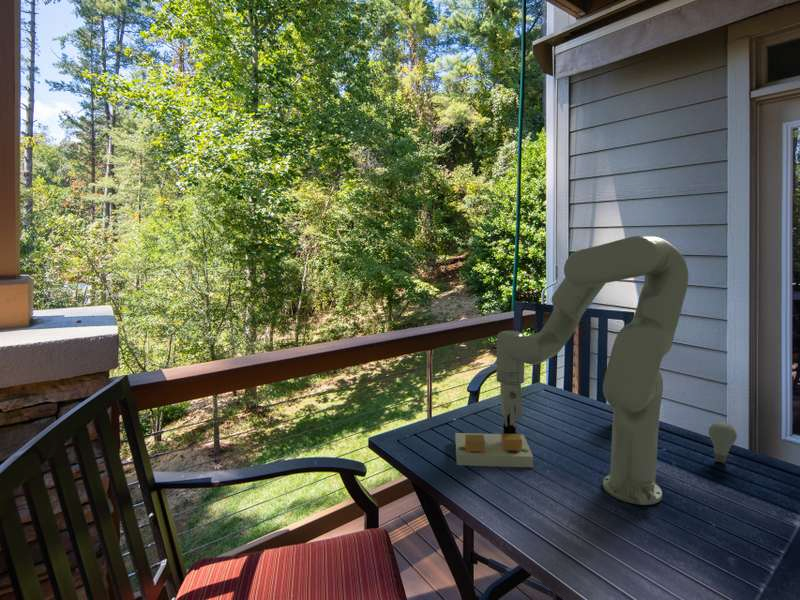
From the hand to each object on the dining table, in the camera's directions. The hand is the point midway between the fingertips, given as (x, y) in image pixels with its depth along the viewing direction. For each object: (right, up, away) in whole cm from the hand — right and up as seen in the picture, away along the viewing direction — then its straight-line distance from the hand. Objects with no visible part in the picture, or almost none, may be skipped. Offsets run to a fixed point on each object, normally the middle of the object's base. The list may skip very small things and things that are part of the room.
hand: (509, 438), depth 128 cm
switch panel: (-5, -4, -1) cm, 7 cm away
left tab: (-10, -1, -4) cm, 11 cm away
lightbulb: (+55, -4, -7) cm, 55 cm away
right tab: (0, -1, -4) cm, 4 cm away
